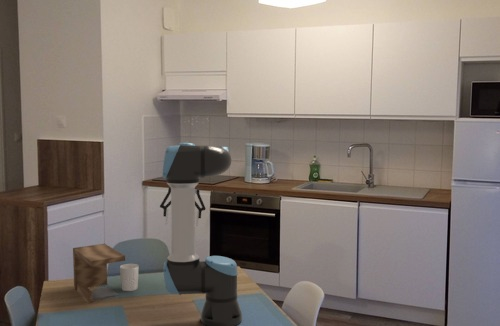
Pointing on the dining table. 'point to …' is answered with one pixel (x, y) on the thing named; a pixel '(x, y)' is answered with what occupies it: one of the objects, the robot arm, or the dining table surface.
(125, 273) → the white cup
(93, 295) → the felt pad
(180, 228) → the robot arm
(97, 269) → the walnut shelf
